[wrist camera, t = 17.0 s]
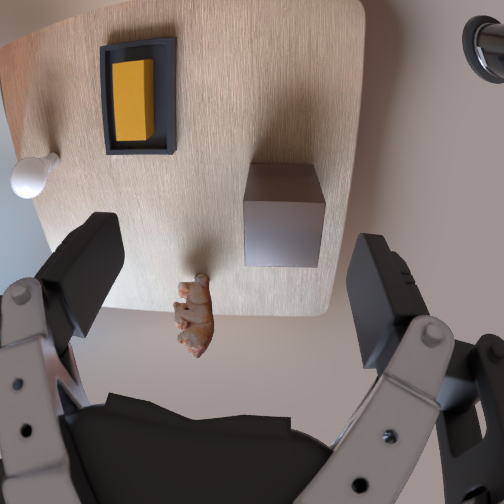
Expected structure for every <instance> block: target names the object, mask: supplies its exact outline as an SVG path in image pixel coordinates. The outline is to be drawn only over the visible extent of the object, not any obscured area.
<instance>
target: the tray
mask: <svg viewBox="0 0 504 504" xmlns="http://www.w3.org/2000/svg"><path fill="white" fill-rule="evenodd" d="M176 49H177V38H173V37H171V38H159V39H149V40H140V41H132V42H125V43H118V44H112V45H106V46H101V47H100V78H101V99H102V114H103V126H104V137H105V147H106V155H134V154H159V155H167V154H168V155H173V154H174V152H175V151H176V150H177V145H176ZM146 59H153V93H154V127H155V134H153V135H152V136H151V137H149V138H148V139H147V140H130V141H117V139H116V127H115V113H114V96H113V65H112V64H114V63H120V62H128V61H137V60H146Z"/></svg>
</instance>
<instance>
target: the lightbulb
mask: <svg viewBox="0 0 504 504" xmlns="http://www.w3.org/2000/svg"><path fill="white" fill-rule="evenodd" d="M58 165H59V157H58V155H57V154H56V153H50V154H48V155H47V156H45V157H42V158H36V157H26V158H23V159H21V160H20V161H19V162H18V163H17V164H16V165H15V166H14V168H13V170H12V173H11V186H12V189H13V190H14V192H15V193H16V194H17V195H18V196H20V197H22V198H33V197H35V196H37V195H38V194H40V193H41V192H42V190H43V189H44V187H45V185H46V182H47V178H48V175H49V174H50V172H51V170H53V169H54V168H55V167H57V166H58Z"/></svg>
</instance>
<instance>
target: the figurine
mask: <svg viewBox="0 0 504 504" xmlns="http://www.w3.org/2000/svg"><path fill="white" fill-rule="evenodd" d="M194 279H195V282H180V283H179V286H178V287H179V296H180V297H181V298H185V299H186V303H178V302H175V303H174V304H173V306H174V309H175V324H176V326H177V327H178V328H179V329H182V330H183V329H185V330H184V331H183V332H182V333H180V334H179V335H178V342H179V343H182V344H183V345H184V346H186V349H187V351H188V352H190V353H192V354H193V355H194V356H195V358H199V357H200V356H201V355H202V354H203V353H204V352H205V351H206V349H207V347H208V346H209V344H210V342H211V340H212V337H213V333H214V319H213V314H212V301H211V296H210V291H209V278H208V276H207V275H205V274H199V275H197V276H196V277H194Z"/></svg>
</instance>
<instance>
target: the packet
mask: <svg viewBox="0 0 504 504" xmlns="http://www.w3.org/2000/svg"><path fill="white" fill-rule="evenodd" d="M112 65H113V96H114V113H115V127H116V139H117V141H130V140H147V139H148V138H149V137H151V136H152V135H153V134H155V127H154V93H153V59H146V60H137V61H128V62H120V63H114V64H112Z"/></svg>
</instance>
